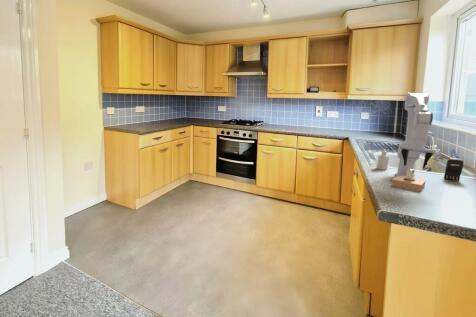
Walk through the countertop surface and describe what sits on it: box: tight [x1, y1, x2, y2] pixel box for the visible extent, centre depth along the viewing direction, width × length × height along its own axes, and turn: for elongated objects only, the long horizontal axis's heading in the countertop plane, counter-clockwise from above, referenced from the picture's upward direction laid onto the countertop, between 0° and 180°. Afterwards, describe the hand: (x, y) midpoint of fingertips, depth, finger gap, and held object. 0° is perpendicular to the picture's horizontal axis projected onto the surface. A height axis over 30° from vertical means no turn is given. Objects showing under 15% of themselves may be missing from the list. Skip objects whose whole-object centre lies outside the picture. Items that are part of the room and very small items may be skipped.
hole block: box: [391, 175, 426, 192], centre depth 136 cm, size 12×12×3 cm
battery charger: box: [443, 157, 465, 182], centre depth 147 cm, size 7×4×11 cm, turn 57°
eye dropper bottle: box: [375, 148, 390, 170], centre depth 164 cm, size 4×6×12 cm
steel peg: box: [406, 168, 416, 181], centre depth 135 cm, size 3×3×8 cm
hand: (414, 166), depth 134 cm, fingers open, 7 cm apart
